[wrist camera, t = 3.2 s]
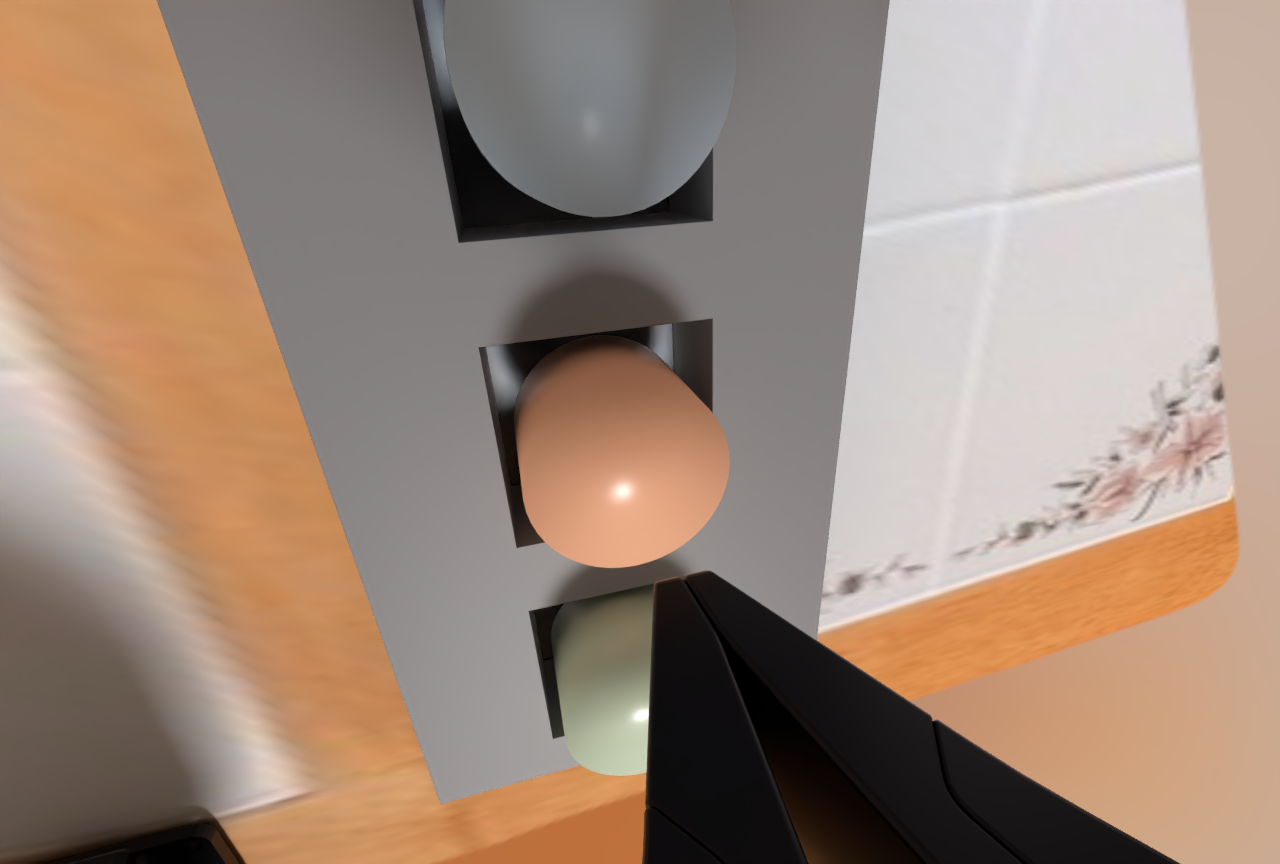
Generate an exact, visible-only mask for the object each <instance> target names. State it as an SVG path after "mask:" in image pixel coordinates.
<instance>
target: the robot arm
mask: <svg viewBox="0 0 1280 864" xmlns="http://www.w3.org/2000/svg"><path fill="white" fill-rule="evenodd" d="M645 797H646V798H645V806H646V810H645V814H644V839H643V857H642V864H1180V863H1178V862H1176V861H1174V860H1173V859H1171V858H1169V857H1167V856H1165V855H1164V854H1162V853H1160V852H1158V851H1157V850H1155V849H1153V848H1151V847H1149V846H1148V845H1146V844H1144V843H1142V842H1141V841H1139V840H1137V839H1135V838H1133V837H1132V836H1130V835H1128V834H1126V833H1125V832H1123V831H1121V830H1119V829H1117V828H1116V827H1114V826H1112V825H1110V824H1109V823H1107V822H1105V821H1103V820H1101V819H1100V818H1098V817H1096V816H1094V815H1092V814H1091V813H1089V812H1087V811H1085V810H1084V809H1082V808H1080V807H1078V806H1077V805H1075V804H1073V803H1072V802H1070V801H1068V800H1066V799H1065V798H1063V797H1061V796H1060V795H1058V794H1056V793H1054V792H1053V791H1051V790H1049V789H1047V788H1046V787H1044V786H1042V785H1041V784H1039V783H1037V782H1036V781H1034V780H1032V779H1030V778H1029V777H1027V776H1025V775H1023V774H1021V773H1020V772H1019V771H1017V770H1015V769H1014V768H1012V767H1011V766H1009V765H1007V764H1006V763H1004V762H1003V761H1001V760H1000V759H998V758H996V757H995V756H993V755H992V754H990V753H988V752H987V751H985V750H983V749H982V748H981V747H979V746H977V745H976V744H974V743H973V742H971V741H969V740H968V739H966V738H965V737H963V736H962V735H960V734H959V733H957V732H956V731H954V730H953V729H951V728H950V727H948V726H947V725H945V724H943V723H942V722H940V721H939V720H934V721H932V717H931V716H930V715H929V714H928V713H926V712H925V711H923V710H922V709H920V708H919V707H917V706H916V705H914V704H913V703H911V702H910V701H908V700H907V699H905V698H904V697H902V696H901V695H899V694H898V693H896V692H895V691H893V690H892V689H890V688H889V687H887V686H885V685H884V684H882V683H881V682H879V681H878V680H876V679H875V678H873V677H872V676H870V675H869V674H867V673H866V672H864V671H863V670H861V669H860V668H858V667H857V666H855V665H854V664H852V663H851V662H849V661H848V660H846V659H844V658H843V657H841V656H840V655H838V654H837V653H835V652H834V651H832V650H831V649H829V648H828V647H826V646H825V645H823V644H822V643H820V642H819V641H817V640H816V639H814V638H813V637H811V636H810V635H808V634H807V633H805V632H803V631H802V630H800V629H799V628H797V627H796V626H794V625H793V624H791V623H790V622H788V621H787V620H785V619H784V618H782V617H781V616H779V615H778V614H776V613H775V612H773V611H772V610H770V609H769V608H767V607H765V606H764V605H762V604H761V603H759V602H758V601H756V600H755V599H753V598H752V597H750V596H749V595H747V594H746V593H744V592H743V591H741V590H740V589H738V588H737V587H735V586H734V585H732V584H731V583H729V582H728V581H726V580H724V579H723V578H721V577H720V576H718V575H717V574H715V573H714V572H712V571H709V570H705V571H700V572H696V573H691V574H687V575H685V576H684V577H683V579H682V578H680V577H673V578H669V579H664V580H660V581H656V582H655V584H654V589H653V614H652V640H651V666H650V692H649V718H648V744H647V770H646V796H645ZM46 864H239V863H238V861H237V860H236V858H235V857H234V855H233V854H232V852H231V851H230V849H229V848H228V846H227V845H226V843H225V842H224V840H223V839H222V837H221V836H220V834H219V833H218V831H217V830H216V828H214V827H213V826H211V825H208V824H194V825H189V826H186V827H182V828H178V829H174V830H171V831H167V832H163V833H159V834H155V835H152V836H148V837H144V838H140V839H137V840H133V841H129V842H125V843H121V844H118V845H114V846H110V847H106V848H103V849H99V850H95V851H91V852H87V853H84V854H80V855H76V856H72V857H69V858H65V859H61V860H57V861H54V862H50V863H46Z"/></svg>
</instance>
